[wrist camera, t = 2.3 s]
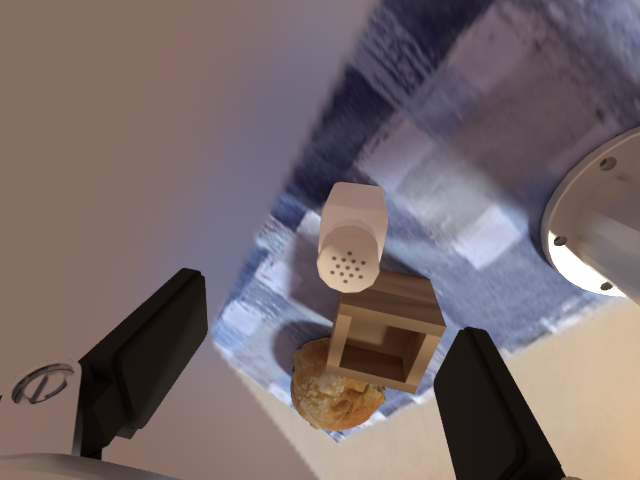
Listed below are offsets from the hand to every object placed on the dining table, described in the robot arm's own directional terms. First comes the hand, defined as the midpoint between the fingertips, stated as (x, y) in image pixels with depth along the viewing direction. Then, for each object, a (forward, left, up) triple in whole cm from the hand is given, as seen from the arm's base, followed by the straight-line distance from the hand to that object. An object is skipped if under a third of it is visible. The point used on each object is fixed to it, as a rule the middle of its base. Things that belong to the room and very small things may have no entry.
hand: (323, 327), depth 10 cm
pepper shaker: (0, +1, -14) cm, 14 cm away
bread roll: (+19, +3, -14) cm, 24 cm away
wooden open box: (+9, +5, -14) cm, 17 cm away
